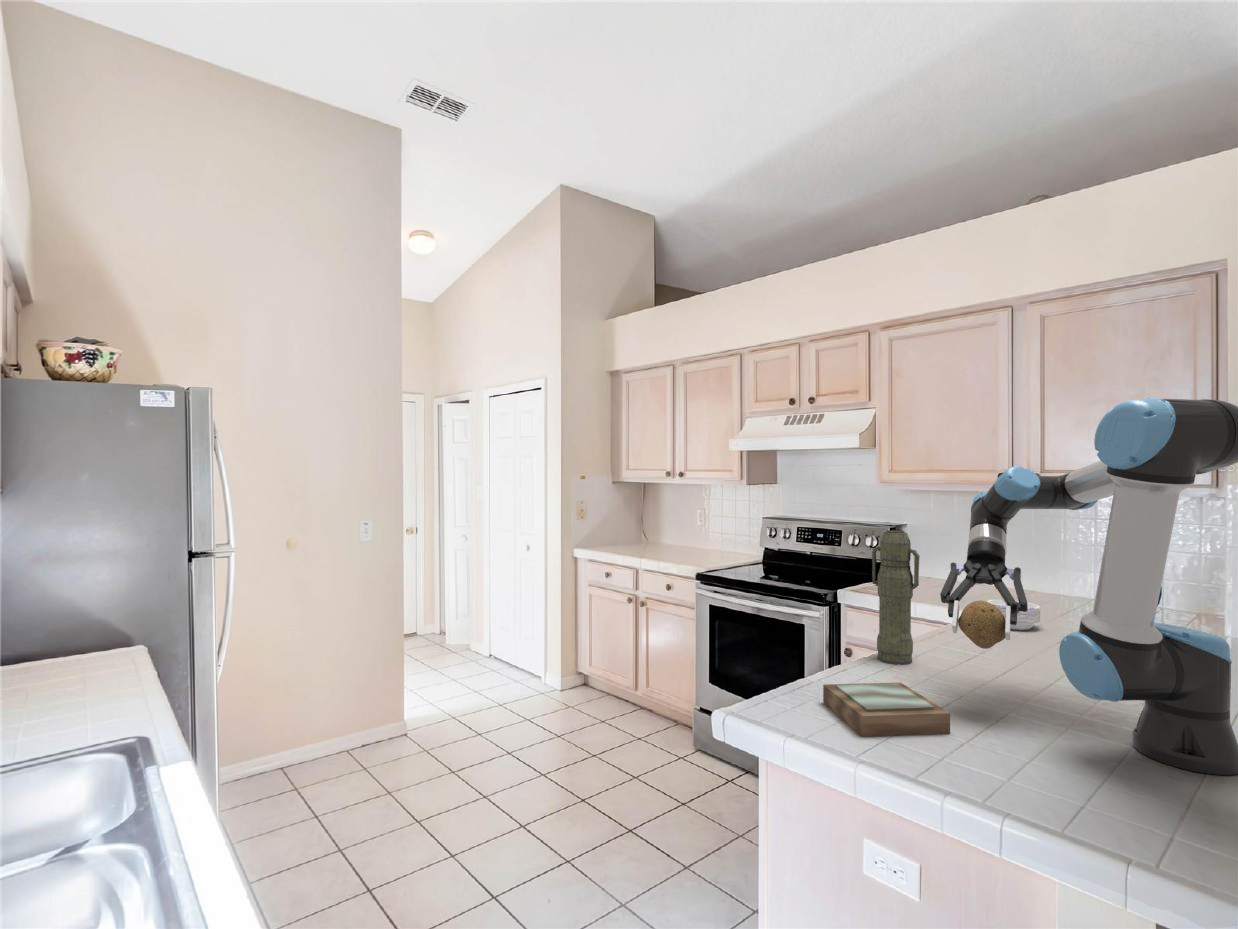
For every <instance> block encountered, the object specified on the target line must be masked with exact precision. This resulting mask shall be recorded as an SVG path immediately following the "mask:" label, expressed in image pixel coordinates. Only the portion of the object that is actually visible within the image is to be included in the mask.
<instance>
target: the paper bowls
mask: <svg viewBox="0 0 1238 929" xmlns="http://www.w3.org/2000/svg"><path fill="white" fill-rule="evenodd" d="M1016 601H1017V603H1018V602H1019V601H1018V600H1016ZM986 602H989V603H991V604H993V605H995V606H996V607H997V608H998V609H999V610H1000V611H1001V612H1002V614H1003V615H1004V618H1005V620H1006V606H1007V604H1006V602H1005V601H1004V599H987V601H986ZM1027 605H1028V610H1027V611H1026V612H1023V611H1019V612H1018V613H1017V624H1016V625H1011V628H1010V630H1013V631H1014V630H1015V631H1026V630H1031V629H1032V628H1033V627H1034V624H1035V623H1040V622H1041V606H1040V605H1038V604H1035V603H1032V602H1028V601H1027Z"/></svg>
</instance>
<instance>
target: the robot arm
mask: <svg viewBox="0 0 1238 929" xmlns="http://www.w3.org/2000/svg"><path fill="white" fill-rule="evenodd" d="M1093 440H1094V442H1093V443H1094V444H1093V445H1094V449H1095V451H1097V453H1096V456H1097V458H1098V459H1099V460H1098V461H1095V462H1093V463H1090V464H1087V465H1086V466H1082V467H1080V468H1077V469H1075V470H1073V471H1070V472H1068V473H1065V474H1062V475H1037V473H1035V472H1034V471H1033V470H1031V469H1030V468H1025V467H1023V466H1020V465H1016V466H1010V467H1008V468H1007V469H1005V470H1004V472H1003V473H1002V474H1001V475H1000V476H999V477H997V478H996V480H995V481H994V483H993V484H992V486H991V487H990V488H989V490H985V491H982V492H981V493H977V494H976V495H975V496H974V497H973V500H972V504H971V506H970V522H969V524H970V525H969V533H968V543H967V545H968V547H967V554H966V555H967V556H966V561H965V563H964V564H957V563H956V562H951V563H950V571H949V573H948V575H947V578H946V580H945V583H944V585H943V586H942V589H941V590H940V593H939V595H940V601H941V603H942V604H948V607H947V615H948V618H951V619H952V621H951V622H952V623H951V628H952V629H951V630H952V633H953V634H957V633H958V629H959V625H958V619H959V617H960V601H962V599H963V598H964V597H965V595H966V594H967V593H968V592H969V590H970V589H971V588H973V587H974V586H975V585H977V584H978V585H984V584H985V585H989V586H994V587H995V589H996V591H997V592H998V593H999V594H1000V596H1001V597H1002V600H1004V601H1005V602H1006V604H1007V606H1006V624H1005V637H1006V638H1005V640H1006V641H1011V629H1010V628H1011V625H1016V624H1017V613H1018V612H1019V611H1023V612H1026V611H1027V610H1028V605H1027V602H1028V600H1027V596H1026V592H1025V590H1024V586H1023V584H1022V583H1023V582H1022V579H1021V578H1022V569H1021V568H1020V567H1019V566H1017V567H1014V569H1013V568H1007V566H1006V554H1007V553H1006V550H1007V549H1006V548H1007V532H1008V524H1009V522H1010V521H1011V520H1012V519H1013V518H1014V517H1015V516H1016V515H1017V514H1018V513H1019V512H1020V511H1021V510H1071V511H1077V510H1088V509H1090V508H1092V507H1094V506H1095V504H1096V503H1098V501H1099V500H1102V499H1106V498H1109V497H1112V502H1111V507H1110V513H1109V518H1108V522H1107V523H1108V524H1107V530H1106V535H1105V541H1104V546H1103V552H1102V557H1101V563H1100V569H1099V575H1098V580H1097V586H1096V591H1095V592H1096V593H1095V598H1094V603H1093V609H1092V610H1091V611H1089V612H1088V613H1085V614H1083V615H1082V616H1081V618H1080V623H1079V629H1078V632H1071V633H1068V634H1067V635H1065V636H1064V637H1063V638H1062V639H1061V641H1060V643H1059V647H1058V648H1059V649H1058V650H1059V651H1058V654H1059V661H1060V664H1061V668H1062V670H1063V672H1064V673H1065V676H1066V678H1067V680H1068V681H1069V683H1070V684H1071V685H1072V686H1073V687H1074V688H1075V690H1077V691H1078V692H1079V693H1080V694H1081V695H1083V696H1085V697H1087V698H1089V699H1091V700H1096V701H1109V702H1113V703H1116V702H1117V703H1118V702H1119V701H1120V702H1121V701H1122V702H1123V701H1144V705H1143V706H1144V707H1143V709H1142V710H1141V712H1140V715H1139V717H1138V721H1137V724H1136V726H1135V727H1134V729H1133V731H1132V746H1133V747H1134V748H1135V750H1136V751H1138V752H1139V753H1141V754H1142V755H1144V756H1147V757H1148V758H1150V759H1153V760H1155V761H1158V762H1160V763H1163V764H1165V765H1169V766H1172V767H1175V768H1178V769H1179V768H1180V769H1182V770H1187V771H1190V772H1191V771H1192V772H1196V773H1197V772H1198V773H1202V774H1208V775H1217V776H1218V775H1219V776H1220V775H1223V776H1232V775H1238V740H1237V738H1236V737H1237V736H1236V734H1235V731H1234V729H1233V726H1232V723H1231V688H1232V686H1231V684H1232V683H1231V681H1232V674H1231V672H1232V664H1233V661H1232V659H1231V650H1230V649H1231V648H1230V645H1229V643H1228V642H1227V640H1226V639H1224V638H1223V637H1221V636H1219V635H1216V634H1213V633H1210V632H1206V631H1201V630H1198V629H1193V628H1189V627H1183V626H1178V625H1173V624H1166V623H1162V622H1161V623H1160V622H1155V619H1156V613H1157V610H1158V605H1159V599H1160V594H1161V591H1162V590H1161V589H1162V585H1163V584H1162V583H1163V580H1164V575H1165V569H1166V563H1167V558H1168V554H1169V553H1168V552H1169V550H1170V549H1169V548H1170V542H1171V538H1172V534H1173V529H1174V523H1175V518H1176V513H1177V508H1178V504H1179V503H1178V502H1179V498H1180V494H1181V492H1183V491H1184V490H1186V489H1188V488H1190V487H1191V486H1193V485H1195V479H1196V475H1197V476H1198V475H1204V474H1207V473H1209V472H1212V471H1216V470H1220V469H1224V468H1228V467H1230V466H1233V465H1235V464H1237V463H1238V406H1237V405H1235V404H1233V403H1230V402H1227V401H1224V400H1220V399H1219V400H1218V399H1207V398H1206V399H1205V398H1203V399H1189V398H1188V399H1185V398H1184V399H1181V398H1179V399H1178V398H1177V399H1175V398H1158V397H1154V398H1150V397H1147V398H1141V399H1129V400H1125V401H1123V402H1120V403H1117V405H1115V406H1114V407H1113V408H1112V409H1109V410H1108V411H1107V412H1106V413H1105V414H1104V415H1103V417H1102V418H1101V420H1100V421H1099V422H1098V426H1097V428H1096V430H1095V434H1094V438H1093ZM963 572H964V573H966V576H965V578H964V579H962V581H961V583H959V585H958V586H957V587H956V588H955V589H954V587H955V584H956V582H957V580H958V577H959V576H960V575H961V574H962V573H963ZM1006 575H1008V576H1009V579H1011V580H1012V581H1013V586H1014V589H1015V593H1016V597H1017V600H1015V597H1013V595H1012V594H1011V592H1010V590H1009V589H1008V587H1007V585H1006V584H1005V583H1004V581H1003V578H1004V577H1005V576H1006ZM1017 601H1019V602H1018V603H1017Z"/></svg>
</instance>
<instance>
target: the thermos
mask: <svg viewBox="0 0 1238 929" xmlns="http://www.w3.org/2000/svg"><path fill="white" fill-rule="evenodd" d="M879 541H880V542H879V546H876V547H875V548H874V549H872V553H871V572H872V573H871V574H872V575H871V577H872V578H871V579H872V580H871V581H872V585H875V586H876V587H877V595H878V597H879V598H878V599H879V600H878V601H879V605H878V607H879V612H878V618H879V619H878V620H879V622H878V625H879V626H878V628H879V629H878V634H877V637H876V649H877V660H878V661H880V662H882V663H887V664H890V665H897V664H900V666H902V665H904V666H905V665H906V664H907V665H910V664H912V663H913V652H914V641H913V636H912V631H911V630H912V629H911V628H912V626H911V625H912V621H911V620H912V618H911V617H912V614H911V613H912V604H911V603H912V599H913V596H914V590H915V589H916V588H918V587H919V586H920V584H919V583H920V582H919V581H920V580H919V578H920V577H919V576H920V554H919V553H918V551H917V550H916V549H912V548H911V540H910V536H909V534H908V532H905V531H904V530H898V529H897V530H892V529H891V530H890V529H889V530H888V529H887V530H885V531H883V532H882V536H881V538H880V540H879ZM877 551H878V552H880V553H879V554H880V555H879V559H880V564H879V570H878V573H877ZM911 554H912V555H913V558H914V561H913V563H914V564H913V565H914V567H913V569H914V570H913V572H914V573H913V574H912V570H911V565H910V564H911V563H910V562H911V556H912V555H911ZM876 576H877V577H876Z"/></svg>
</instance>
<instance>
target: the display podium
mask: <svg viewBox="0 0 1238 929" xmlns="http://www.w3.org/2000/svg"><path fill="white" fill-rule="evenodd" d="M822 689H823V690H822V691H823V692H822V693H823V696H822V697H823V698H822V703H823V705H825V706H826V707H827V708H829V709H830V710H831V711H833V713H834V714H836V715H837V716H838V717H839V718H840V719H841V720H842V721H844V722H845V723H846V724H847V725H848V726H849V727H850V728H851V729H853V730H854V731H855V732H856V733H857V734H858V735H860V736H861V737H862V738H867V737H894V736H918V735H921V736H922V735H947V734H948V735H949V734H951V712H950V711H947V710H946V709H944V708H942V707H941V706H940V705H938V704H937V703H934V702H933V701H932V700H930V699H928V698H927V697H925V696H923V695H922V694H920V693H918V692H917V691H916V690H914V689H912V688H910V687H908V686H907V685H905V684H904V683H902V682H899V681H898V682H870V683H869V682H868V683H867V682H866V683H835V684H834V683H831V684H826V683H825V684H823V686H822Z"/></svg>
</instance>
